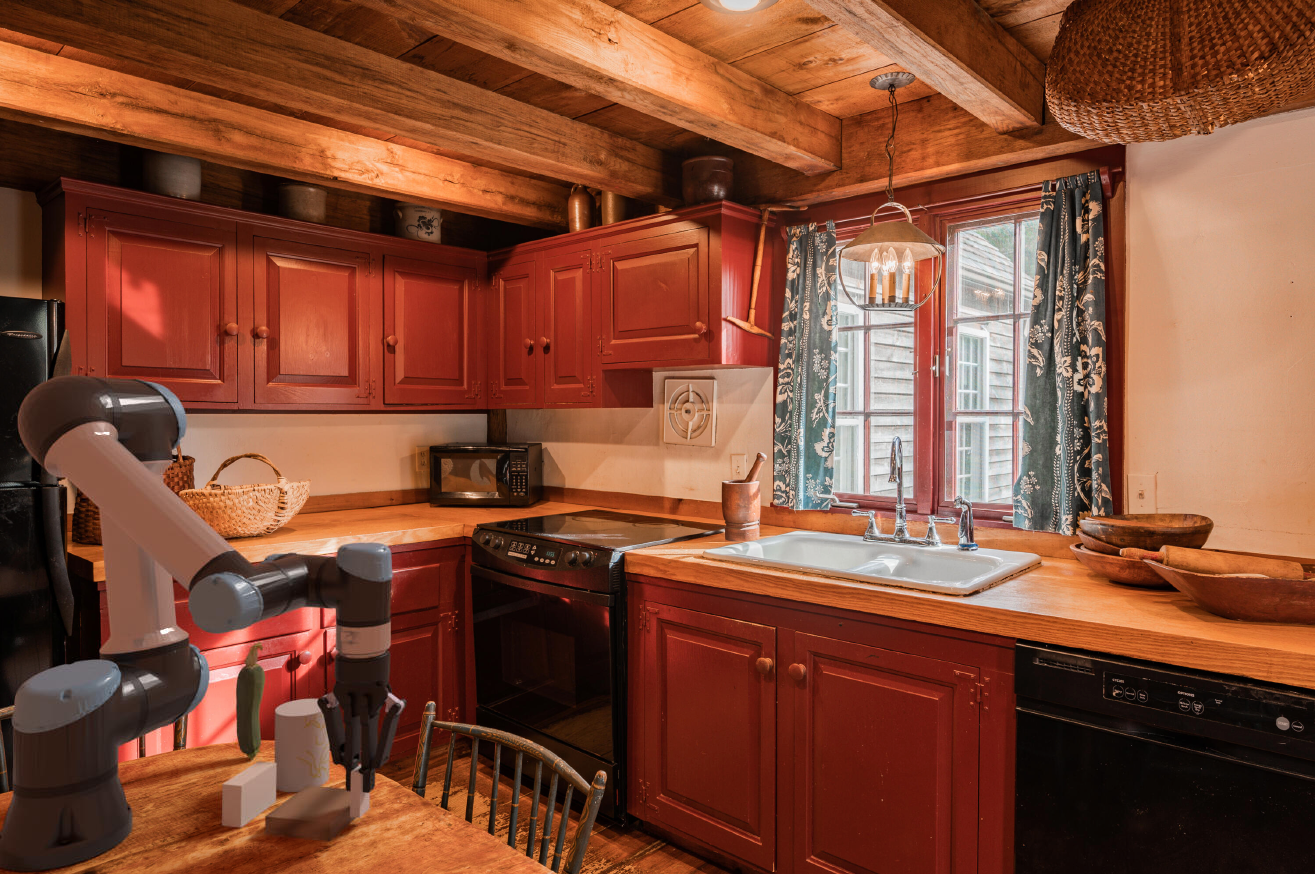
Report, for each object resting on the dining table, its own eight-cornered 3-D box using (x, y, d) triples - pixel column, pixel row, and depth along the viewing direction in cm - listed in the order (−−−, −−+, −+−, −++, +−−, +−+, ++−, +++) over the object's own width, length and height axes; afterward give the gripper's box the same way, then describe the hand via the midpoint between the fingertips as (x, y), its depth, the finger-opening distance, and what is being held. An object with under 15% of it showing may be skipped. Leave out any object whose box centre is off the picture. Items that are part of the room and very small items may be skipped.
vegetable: (230, 761, 136) (231, 645, 136) (244, 751, 140) (245, 638, 140) (255, 762, 136) (257, 645, 136) (268, 752, 140) (270, 639, 140)
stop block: (222, 825, 115) (222, 783, 115) (258, 799, 123) (258, 761, 123) (241, 827, 114) (241, 785, 114) (275, 801, 122) (276, 762, 122)
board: (265, 837, 113) (265, 816, 113) (307, 804, 122) (307, 784, 122) (330, 844, 111) (330, 822, 111) (367, 810, 121) (367, 790, 121)
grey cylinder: (308, 794, 125) (309, 718, 125) (262, 788, 126) (263, 713, 126) (339, 772, 133) (340, 700, 133) (295, 767, 134) (296, 696, 134)
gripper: (306, 655, 113) (303, 820, 113) (392, 661, 111) (389, 829, 111) (335, 641, 120) (332, 796, 120) (417, 646, 118) (413, 804, 118)
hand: (359, 812), depth 116 cm, fingers closed
